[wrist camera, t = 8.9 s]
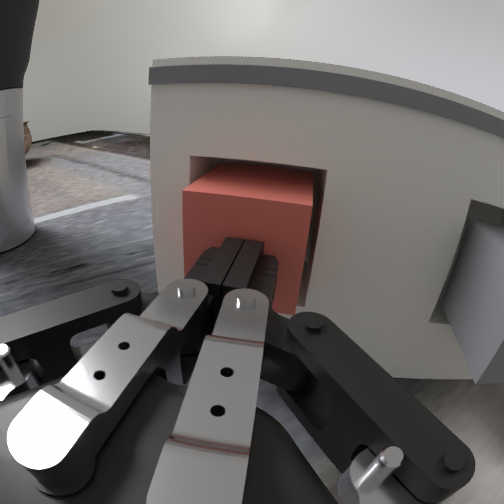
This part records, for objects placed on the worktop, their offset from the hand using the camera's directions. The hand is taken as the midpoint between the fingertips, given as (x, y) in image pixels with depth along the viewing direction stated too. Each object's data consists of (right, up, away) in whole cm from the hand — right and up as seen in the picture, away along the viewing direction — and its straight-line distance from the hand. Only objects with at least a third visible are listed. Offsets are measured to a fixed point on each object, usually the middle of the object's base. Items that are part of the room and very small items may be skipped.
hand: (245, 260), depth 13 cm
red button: (0, -1, +4) cm, 4 cm away
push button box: (+7, -5, +8) cm, 12 cm away
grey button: (+12, -4, -1) cm, 13 cm away
